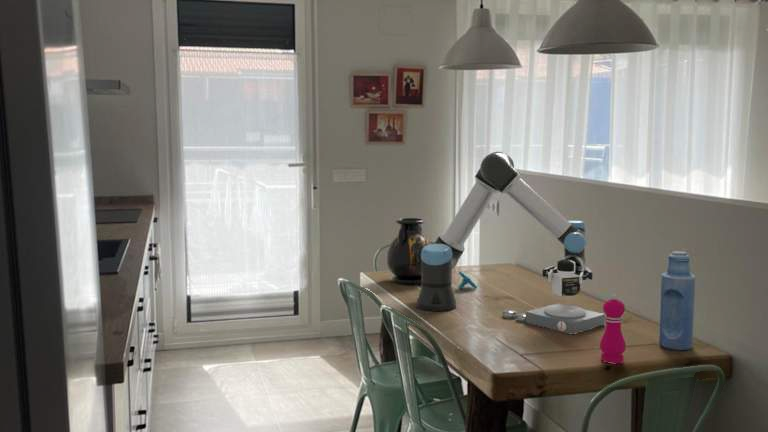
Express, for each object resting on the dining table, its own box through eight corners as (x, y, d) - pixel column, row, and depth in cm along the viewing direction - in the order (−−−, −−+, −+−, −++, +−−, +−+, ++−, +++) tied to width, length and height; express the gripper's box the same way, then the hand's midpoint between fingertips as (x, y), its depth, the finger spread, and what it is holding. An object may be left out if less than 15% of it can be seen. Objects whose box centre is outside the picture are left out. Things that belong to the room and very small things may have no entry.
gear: (480, 287, 297) (463, 271, 296) (470, 297, 296) (453, 281, 296) (474, 285, 308) (458, 269, 307) (465, 295, 307) (449, 279, 307)
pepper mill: (594, 360, 208) (596, 294, 205) (606, 355, 213) (609, 290, 210) (617, 366, 203) (620, 298, 200) (629, 360, 208) (632, 294, 205)
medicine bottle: (561, 297, 241) (562, 263, 240) (551, 293, 248) (552, 259, 247) (580, 296, 243) (581, 261, 242) (569, 291, 250) (570, 258, 248)
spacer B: (524, 323, 249) (525, 318, 248) (513, 320, 252) (513, 315, 252) (533, 320, 252) (533, 315, 252) (522, 318, 256) (522, 312, 255)
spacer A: (510, 319, 254) (510, 314, 253) (499, 317, 257) (499, 311, 257) (519, 317, 257) (519, 311, 257) (508, 314, 261) (508, 309, 260)
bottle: (696, 345, 221) (701, 251, 218) (685, 353, 214) (690, 255, 210) (665, 339, 228) (669, 248, 224) (654, 347, 220) (658, 252, 217)
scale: (572, 335, 233) (572, 320, 233) (524, 322, 249) (524, 309, 248) (604, 325, 245) (605, 311, 244) (557, 313, 260) (557, 300, 260)
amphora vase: (420, 288, 302) (420, 224, 299) (377, 283, 313) (377, 221, 309) (442, 279, 321) (442, 218, 317) (400, 274, 331) (400, 215, 328)
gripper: (602, 278, 258) (598, 291, 237) (540, 274, 266) (531, 287, 245) (603, 258, 257) (599, 269, 236) (541, 255, 265) (531, 266, 244)
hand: (564, 278), depth 241 cm, fingers closed on medicine bottle, 10 cm apart
